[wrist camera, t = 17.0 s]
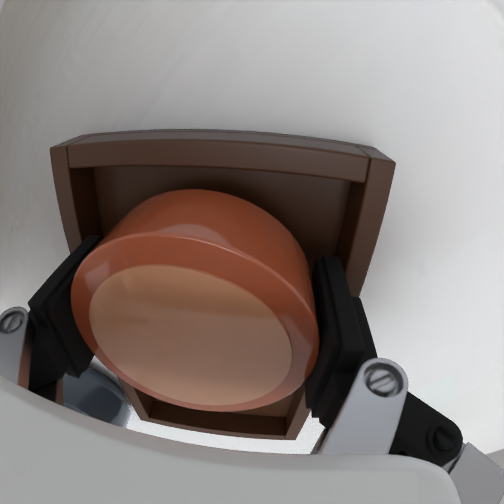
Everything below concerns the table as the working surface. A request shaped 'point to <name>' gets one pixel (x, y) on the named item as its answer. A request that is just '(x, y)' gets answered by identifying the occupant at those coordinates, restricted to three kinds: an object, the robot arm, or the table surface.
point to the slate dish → (96, 398)
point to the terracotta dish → (200, 303)
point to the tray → (242, 186)
